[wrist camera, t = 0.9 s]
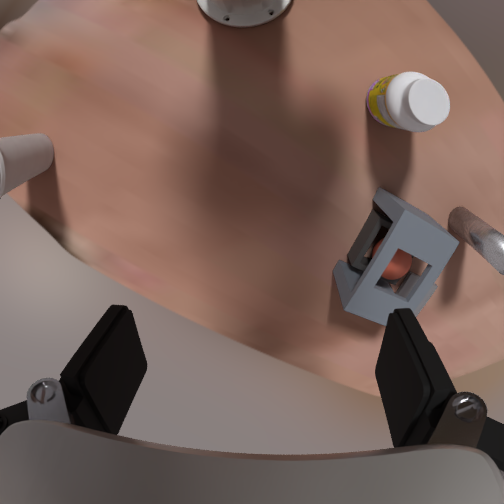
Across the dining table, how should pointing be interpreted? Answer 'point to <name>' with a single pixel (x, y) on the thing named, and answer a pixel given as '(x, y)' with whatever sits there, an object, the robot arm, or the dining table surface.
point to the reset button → (395, 263)
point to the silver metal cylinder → (479, 236)
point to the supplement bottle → (408, 102)
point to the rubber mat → (408, 286)
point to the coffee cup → (23, 159)
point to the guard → (399, 236)
